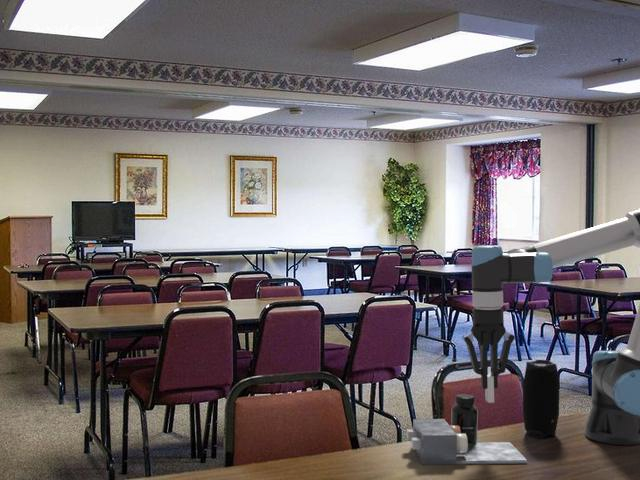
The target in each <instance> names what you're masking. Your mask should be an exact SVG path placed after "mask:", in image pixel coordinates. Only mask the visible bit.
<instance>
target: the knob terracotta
mask: <svg viewBox="0 0 640 480" xmlns="http://www.w3.org/2000/svg"><path fill="white" fill-rule="evenodd" d="M449 426H450V427H451V428H452V430H453V431H454V432H455V433H456V434H461V430H460V426H459V425H451V424H449ZM411 438H417V430H416V429H413V428H411V429H406V439H407V441H408V442H409V441H411Z"/></svg>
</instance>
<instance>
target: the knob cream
mask: <svg viewBox="0 0 640 480" xmlns="http://www.w3.org/2000/svg"><path fill="white" fill-rule="evenodd" d="M456 435H457V452H467V450H468V440H467V436H466V434H456ZM410 447H411V449H412V450H415V449H422V439H421V438H411V444H410Z"/></svg>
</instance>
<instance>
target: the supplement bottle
mask: <svg viewBox="0 0 640 480" xmlns="http://www.w3.org/2000/svg"><path fill="white" fill-rule="evenodd" d="M450 416H451V417H450V418H451V419H450V425H459V426H460V430H461V434H466V436H467V440H468V443H478V426H479V425H478V424H479V423H478V422H479V421H478V420H479V410H478V408H477V407H476V406H475V395H472V394H466V393H460V394H455V405H453V406H452V407H451V413H450Z"/></svg>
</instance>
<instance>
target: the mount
mask: <svg viewBox="0 0 640 480" xmlns="http://www.w3.org/2000/svg"><path fill="white" fill-rule="evenodd" d="M449 425H450V424H449V423H448V422H447V421H446V419H445V418H414V419H412V427H413V428H412V429H416V430H417V438H421V439H422V449H414V451H415V453H416V455H417V456H418V459H419V460H420V462H421V465H424V466H426V465H429V466H430V465H432V466H433V465H434V466H435V465H501V464H502V465H504V464H505V465H506V464H507V465H508V464H509V465H510V464H511V465H513V464H528V459H527V458H526V457H525V456H524V455H523V454H522V453H521V452H520V451H519V450H518V448H516V446H514V445H513V444H512V443H511V442H509V441H508V442H507V441H504V442H501V441H499V442H498V441H496V442H495V441H494V442H493V441H491V442H490V441H487V442H476V443H468V450H467V452H457V435H456V433H455V432H454V431H453V430H452V428H451V427H450V426H449Z"/></svg>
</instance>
